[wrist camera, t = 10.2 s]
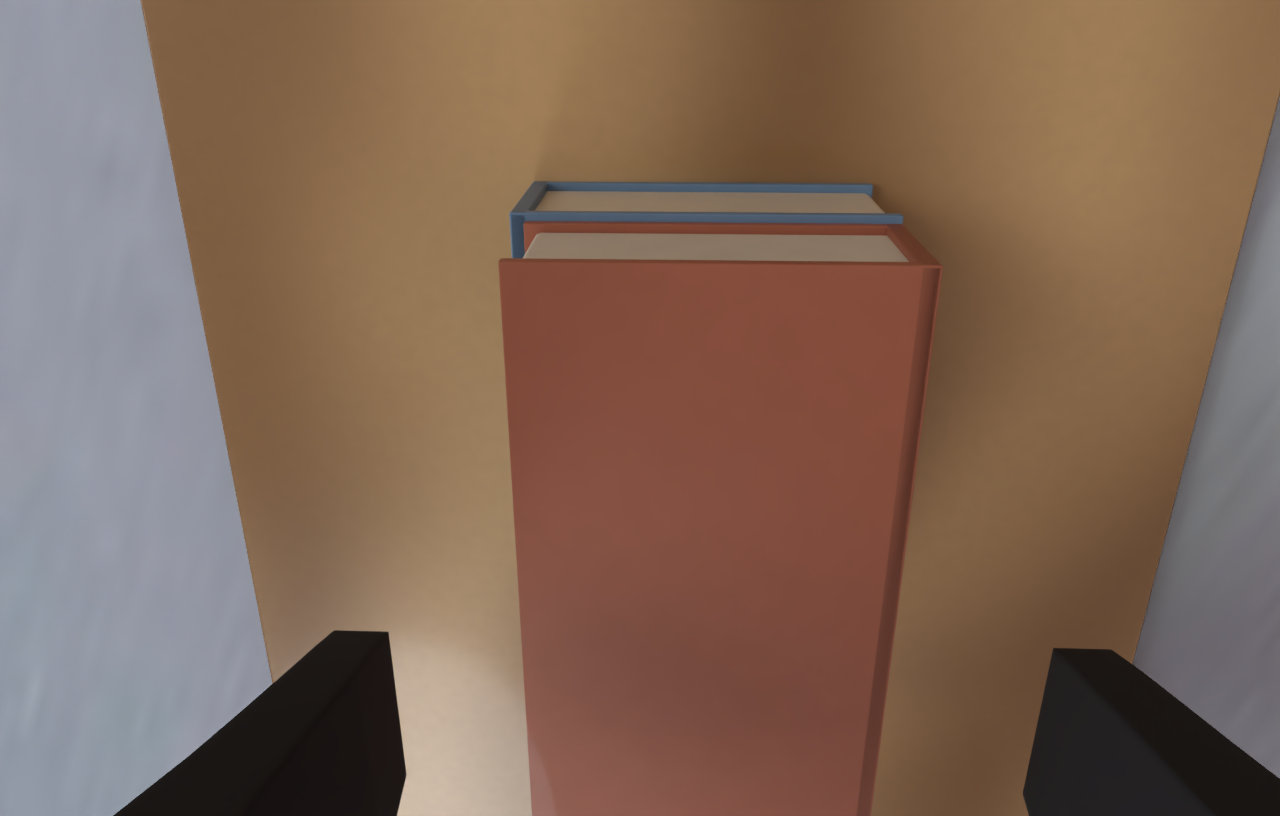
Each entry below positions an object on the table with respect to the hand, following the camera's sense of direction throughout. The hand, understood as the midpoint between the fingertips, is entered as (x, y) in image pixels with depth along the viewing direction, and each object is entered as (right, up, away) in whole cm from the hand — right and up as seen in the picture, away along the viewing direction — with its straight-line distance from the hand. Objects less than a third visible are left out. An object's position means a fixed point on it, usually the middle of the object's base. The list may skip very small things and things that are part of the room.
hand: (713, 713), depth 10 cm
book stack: (0, +3, +5) cm, 6 cm away
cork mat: (0, +3, +6) cm, 6 cm away
